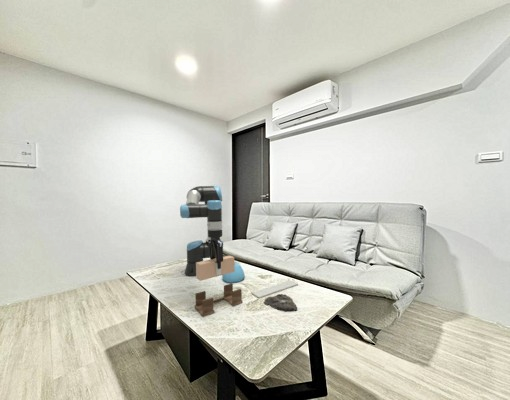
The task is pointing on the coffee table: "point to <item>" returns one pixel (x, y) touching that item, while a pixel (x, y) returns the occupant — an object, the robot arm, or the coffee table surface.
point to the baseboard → (274, 289)
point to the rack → (206, 305)
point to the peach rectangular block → (214, 268)
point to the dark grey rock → (281, 303)
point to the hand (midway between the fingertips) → (216, 273)
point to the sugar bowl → (234, 274)
